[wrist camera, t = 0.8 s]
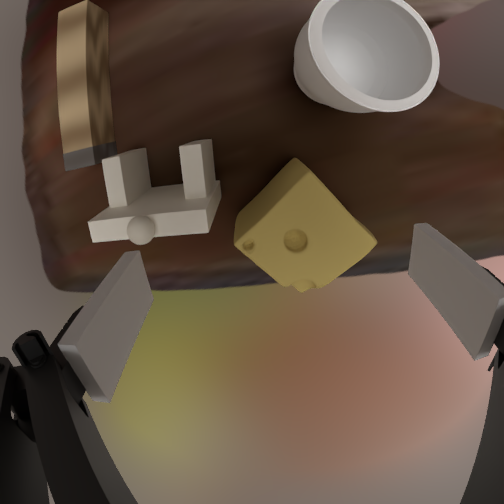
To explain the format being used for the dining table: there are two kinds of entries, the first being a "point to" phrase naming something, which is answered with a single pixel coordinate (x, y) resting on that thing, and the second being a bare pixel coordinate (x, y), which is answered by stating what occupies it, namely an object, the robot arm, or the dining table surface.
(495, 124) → the dining table surface
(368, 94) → the white cup
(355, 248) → the cheese
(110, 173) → the white u-channel bracket
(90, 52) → the rail
